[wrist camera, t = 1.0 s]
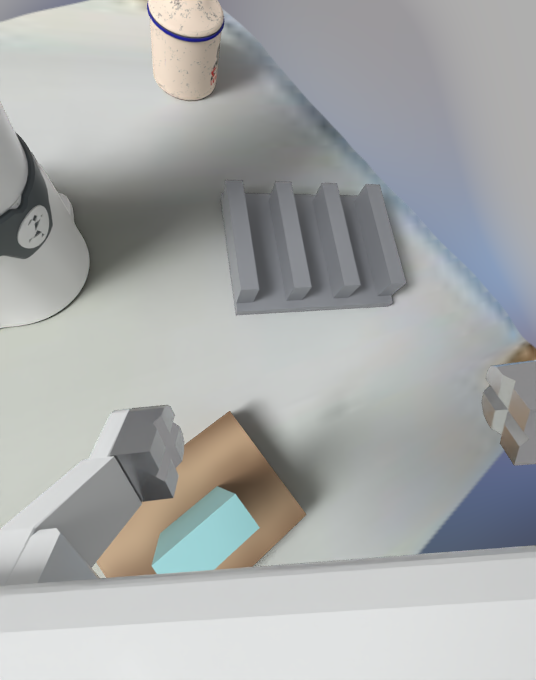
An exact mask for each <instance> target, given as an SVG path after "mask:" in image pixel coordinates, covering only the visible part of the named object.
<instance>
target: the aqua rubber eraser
mask: <svg viewBox="0 0 536 680" xmlns="http://www.w3.org/2000/svg"><path fill="white" fill-rule="evenodd" d="M259 528H260V527H259V526H258V525H257V523H256V522H255V520H254V519H253V518H252V516H251V515H250V513H249V512H248V511H247V509H246V508H245V507H244V505H243V504H242V502H241V501H240V500H239V498H238V497H237V495H236V494H235V493H232V492H230V491H227V490H225V489H223V488H220V487H218V486H217V487H215V488H214V489H213V490H212V491H210V492H209V493H208V494H207V495H206V496H204V497H203V498H202V499H201V500H200V501H198V502H197V503H196V504H195V505H194V506H192V507H191V508H190V509H189V510H188V511H186V512H185V513H184V514H183V515H182V516H180V517H179V518H178V519H177V520H176V521H174V522H173V523H172V524H171V525H169V526H168V527H167V528H166V529H165V530H163V531H162V532H161V533H160V535H159V539H158V543H157V547H156V550H155V554H154V558H153V562H152V567H153V569H154V570H155V572H156V573H157V574H165V573H179V572H192V571H205V570H214V569H215V568H217V567H218V566H219V565H220V564H221V563H222V562H223V561H224V560H225V559H226V558H227V557H228V556H230V555H231V554H232V553H233V552H234V551H235V550H236V549H237V548H238V547H239V546H240V545H242V544H243V543H244V542H245V541H246V540H247V539H248V538H249V537H250V536H251V535H252V534H253V533H255V532H256V531H257V530H258V529H259Z"/></svg>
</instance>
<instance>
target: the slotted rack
mask: <svg viewBox="0 0 536 680" xmlns="http://www.w3.org/2000/svg"><path fill="white" fill-rule="evenodd" d="M221 206H222V213H223V221H224V229H225V236H226V244H227V252H228V259H229V267H230V275H231V282H232V290H233V298H234V305H235V313H236V315H247V314H264V313H282V312H299V311H316V310H334V309H351V308H368V307H386V306H389V305H391V304H392V303H393V300H392V296H391V295H392V294H394V293H395V292H396V291H397V290H399V289H400V288H401V287H402V286H403V285H405V284H406V280H405V276H404V273H403V269H402V265H401V262H400V258H399V254H398V250H397V247H396V243H395V239H394V236H393V232H392V228H391V225H390V221H389V217H388V213H387V210H386V206H385V202H384V199H383V195H382V191H381V188H380V185H374V184H366V185H365V186H364V188H363V189H362V191H361V192H360V194H359V195H358V196H351V195H339V190H338V186H337V183H322V184H321V186H320V188H319V190H318V192H317V194H316V195H306V194H294V193H293V188H292V183H291V182H276V181H275V184H274V187H273V190H272V193H271V194H261V193H245V192H244V186H243V180H226V182H225V187H224V193H221Z"/></svg>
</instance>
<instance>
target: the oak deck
mask: <svg viewBox="0 0 536 680" xmlns="http://www.w3.org/2000/svg"><path fill="white" fill-rule="evenodd" d="M176 471H177V473H178V475H179V477H178V481H177V485H176V490H175V494H174V498H170V499H162V500H154V501H146V502H142V505H141V506H140V507H139V508H138V510H137V511H136V512H135V513H134V515H133V516H132V517H131V518H130V520H129V521H128V522H127V524H126V525H125V526H124V527H123V529H122V530H121V531H120V532H119V534H118V535H117V536H116V537H115V539H114V540H113V541H112V543H111V544H110V545H109V546H108V548H107V549H106V550H105V551H104V553H103V554H102V555H101V556H100V558H99V559H98V560H97V561H96V562H97V564H98V566H99V567H100V569H101V570H102V572H103V573H104V575H105V576H106V578H112V577H126V576H139V575H152V574H157V573H156V572H155V570H154V569H153V567H152V562H153V558H154V554H155V550H156V547H157V543H158V539H159V535H160V533H161V532H162V531H163V530H165V529H166V528H167V527H168V526H169V525H171V524H172V523H173V522H174V521H176V520H177V519H178V518H179V517H180V516H182V515H183V514H184V513H185V512H186V511H188V510H189V509H190V508H191V507H192V506H194V505H195V504H196V503H197V502H198V501H200V500H201V499H202V498H203V497H204V496H206V495H207V494H208V493H209V492H210V491H212V490H213V489H214V488H215V487H217V486H218V487H220V488H223V489H225V490H227V491H230V492H232V493H235V494H236V495H237V497H238V498H239V500H240V501H241V502H242V504H243V505H244V507H245V508H246V509H247V511H248V512H249V513H250V515H251V516H252V518H253V519H254V520H255V522H256V523H257V525H258V526H259V527H260V528H259V529H258V530H257V531H256V532H255V533H253V534H252V535H251V536H250V537H249V538H248V539H247V540H246V541H245V542H244V543H243V544H242V545H240V546H239V547H238V548H237V549H236V550H235V551H234V552H233V553H232V554H231V555H230V556H228V557H227V558H226V559H225V560H224V561H223V562H222V563H221V564H220V565H219V566H218V567H217V568H215V569H214V570H218V569H232V568H245V567H252V566H253V565H254V564H256V563H257V562H258V561H259V560H260V559H261V558H262V557H263V556H264V555H265V554H266V553H267V552H268V551H269V550H270V549H271V548H272V547H273V546H274V545H275V544H276V543H277V542H278V541H279V540H281V539H282V538H283V537H284V536H285V535H286V534H287V533H288V532H289V531H290V530H291V529H292V528H293V527H294V526H295V525H296V524H297V523H298V522H299V521H300V520H301V519H302V518H303V517H304V516H306V513H305V512H304V511H303V509H302V508H301V506H300V505H299V504H298V502H297V501H296V500H295V498H294V497H293V496H292V494H291V493H290V492H289V490H288V489H287V488H286V486H285V485H284V484H283V482H282V481H281V479H280V478H279V477H278V475H277V474H276V473H275V471H274V470H273V469H272V467H271V466H270V465H269V463H268V462H267V461H266V459H265V458H264V456H263V455H262V454H261V452H260V451H259V450H258V448H257V447H256V446H255V444H254V443H253V442H252V440H251V439H250V438H249V436H248V435H247V433H246V432H245V431H244V429H243V428H242V427H241V425H240V424H239V423H238V421H237V420H236V419H235V417H234V416H233V415H232V413H231V412H230V411H229V412H227V413H226V414H225V415H223V416H222V417H221V418H220V419H218V420H217V421H216V422H214V423H213V424H212V425H210V426H209V427H208V428H206V429H205V430H204V431H202V432H201V433H200V434H198V435H197V436H196V437H194V438H193V439H192V440H190V441H189V442H188V443H186V444H185V445H184V455H183V459H182V462H181V463H180V464H179V465H178V466H177V467H176Z"/></svg>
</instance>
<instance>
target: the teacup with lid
mask: <svg viewBox="0 0 536 680" xmlns="http://www.w3.org/2000/svg"><path fill="white" fill-rule="evenodd" d="M147 9H148V14H149V16H150V26H151V43H152V60H153V74H154V78H155V80H156V82H157V83H158V85H159V86H160V87H161V88H162V89H163V90H164V91H165V92H166V93H168V94H170V95H171V96H174V97H176V98H179V99H183V100H199V99H202V98H204V97H206V96H208V95H209V94H210V93H211V92H212V91H213V90H214V88H215V85H216V79H217V69H218V59H219V49H220V39H221V31H222V29H223V27H224V15H223V11H222V8H221V6H220V4H219V2H218V1H217V0H148V3H147Z"/></svg>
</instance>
